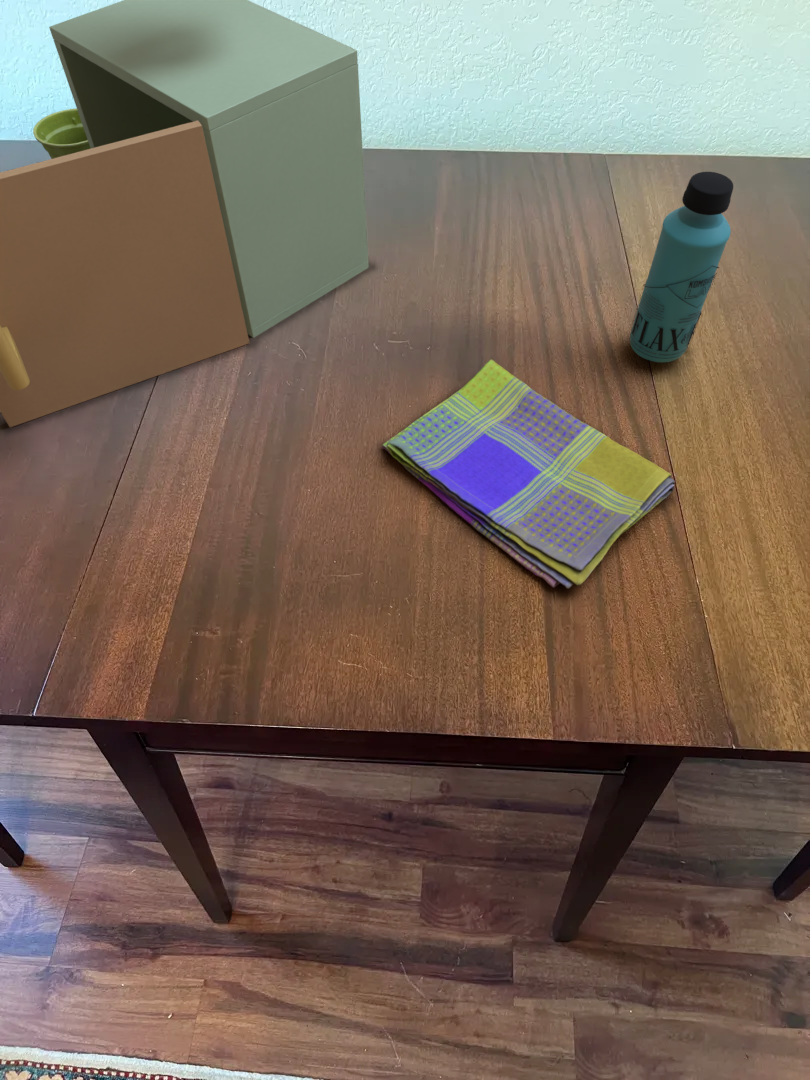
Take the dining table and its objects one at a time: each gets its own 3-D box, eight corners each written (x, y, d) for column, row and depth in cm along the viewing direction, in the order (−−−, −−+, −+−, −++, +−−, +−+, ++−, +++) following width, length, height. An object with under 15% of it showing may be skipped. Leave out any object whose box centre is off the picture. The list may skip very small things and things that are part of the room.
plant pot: (69, 171, 108) (45, 106, 101) (137, 172, 108) (117, 107, 101) (49, 209, 103) (22, 144, 96) (120, 211, 103) (98, 145, 95)
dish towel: (494, 368, 85) (496, 349, 82) (684, 494, 74) (692, 475, 72) (376, 454, 78) (375, 435, 75) (567, 605, 67) (572, 588, 65)
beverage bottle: (612, 354, 86) (659, 181, 69) (647, 326, 88) (700, 152, 72) (662, 383, 83) (723, 210, 67) (697, 353, 86) (764, 179, 69)
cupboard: (253, 338, 88) (206, 117, 68) (122, 241, 99) (48, 26, 79) (369, 268, 95) (357, 49, 75) (235, 184, 106) (193, -26, 86)
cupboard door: (274, 381, 84) (231, 162, 64) (25, 472, 76) (-110, 258, 57) (246, 338, 88) (197, 120, 68) (7, 421, 80) (-124, 204, 61)
